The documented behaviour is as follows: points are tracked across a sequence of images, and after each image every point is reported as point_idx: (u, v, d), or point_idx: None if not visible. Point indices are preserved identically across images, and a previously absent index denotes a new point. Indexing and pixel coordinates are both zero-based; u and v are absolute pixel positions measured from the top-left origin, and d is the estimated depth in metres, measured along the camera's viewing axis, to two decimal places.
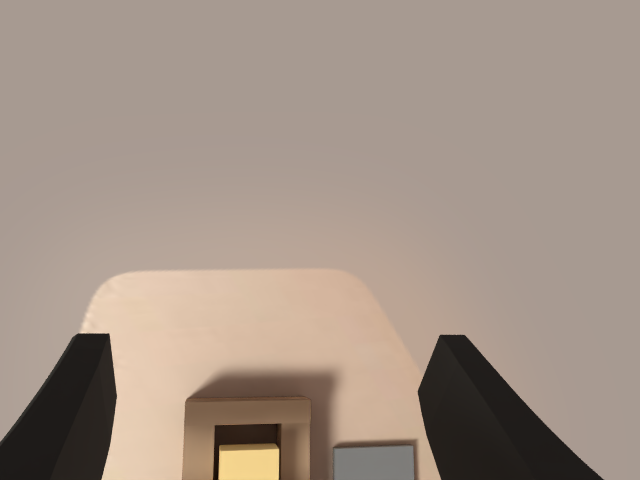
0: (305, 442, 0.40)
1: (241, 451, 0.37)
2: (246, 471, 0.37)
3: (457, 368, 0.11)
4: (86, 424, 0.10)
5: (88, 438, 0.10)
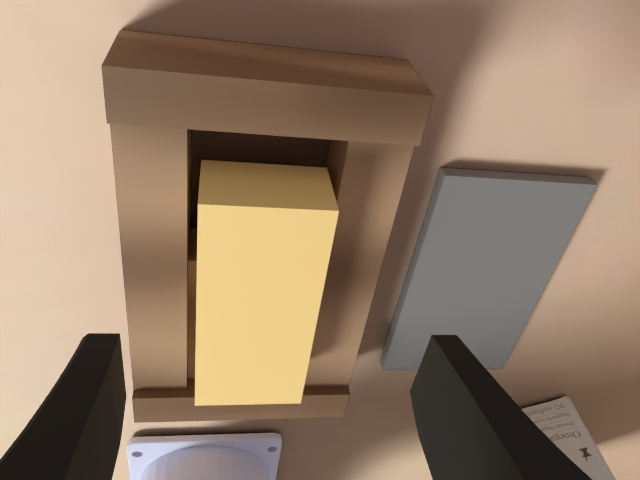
0: (396, 180, 0.18)
1: (249, 208, 0.15)
2: (258, 245, 0.16)
3: (448, 368, 0.11)
4: (98, 424, 0.10)
5: (99, 438, 0.10)
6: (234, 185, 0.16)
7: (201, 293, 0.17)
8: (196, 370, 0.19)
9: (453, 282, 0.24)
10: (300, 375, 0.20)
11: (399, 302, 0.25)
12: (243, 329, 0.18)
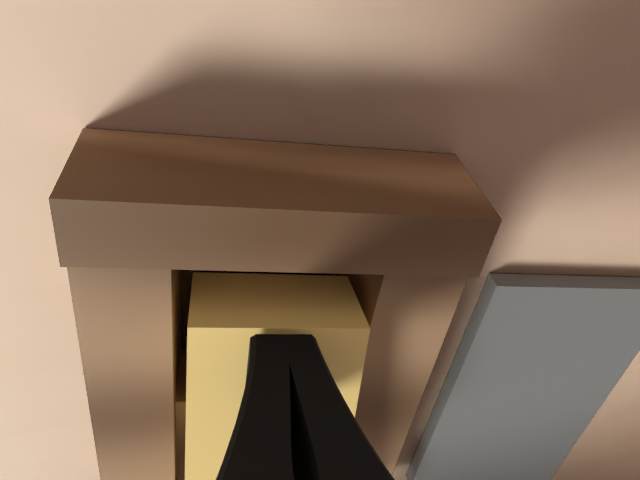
0: (443, 311, 0.14)
1: (255, 330, 0.12)
2: None
3: None
4: None
5: None
6: (234, 301, 0.13)
7: (192, 447, 0.13)
8: None
9: (498, 397, 0.20)
10: None
11: (432, 417, 0.21)
12: None
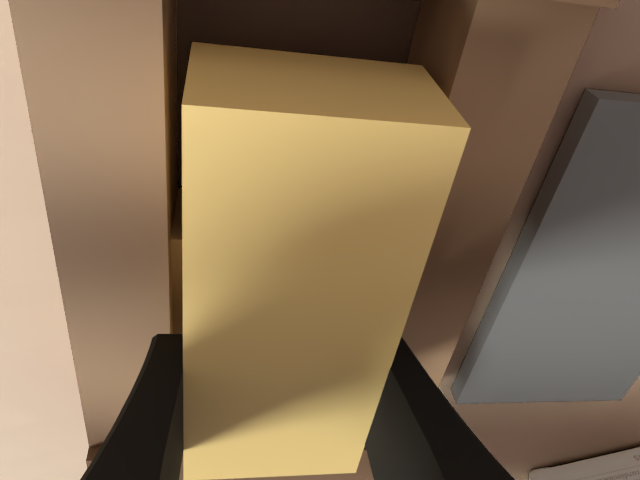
0: (550, 87, 0.10)
1: (291, 118, 0.07)
2: (304, 200, 0.08)
3: None
4: (176, 422, 0.10)
5: (176, 436, 0.10)
6: (257, 79, 0.08)
7: (192, 295, 0.09)
8: (185, 427, 0.11)
9: (577, 277, 0.16)
10: (360, 432, 0.12)
11: (490, 307, 0.17)
12: (268, 358, 0.10)
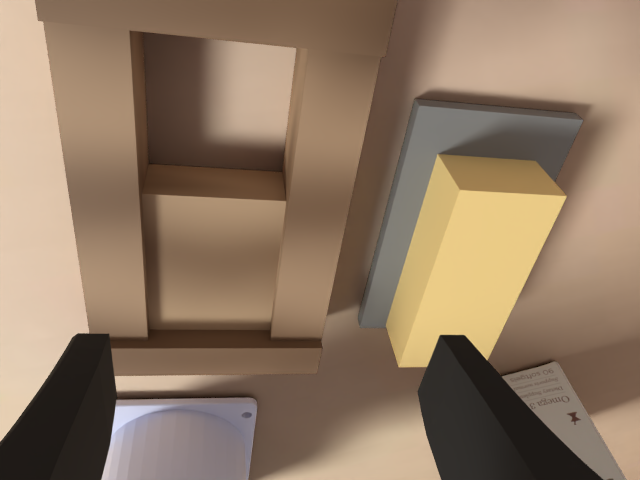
0: (362, 99, 0.16)
1: (498, 193, 0.19)
2: (495, 225, 0.20)
3: (457, 368, 0.11)
4: (86, 424, 0.10)
5: (88, 438, 0.10)
6: (476, 175, 0.19)
7: (437, 266, 0.20)
8: (410, 335, 0.22)
9: None
10: (492, 340, 0.23)
11: (375, 252, 0.23)
12: (460, 297, 0.22)
